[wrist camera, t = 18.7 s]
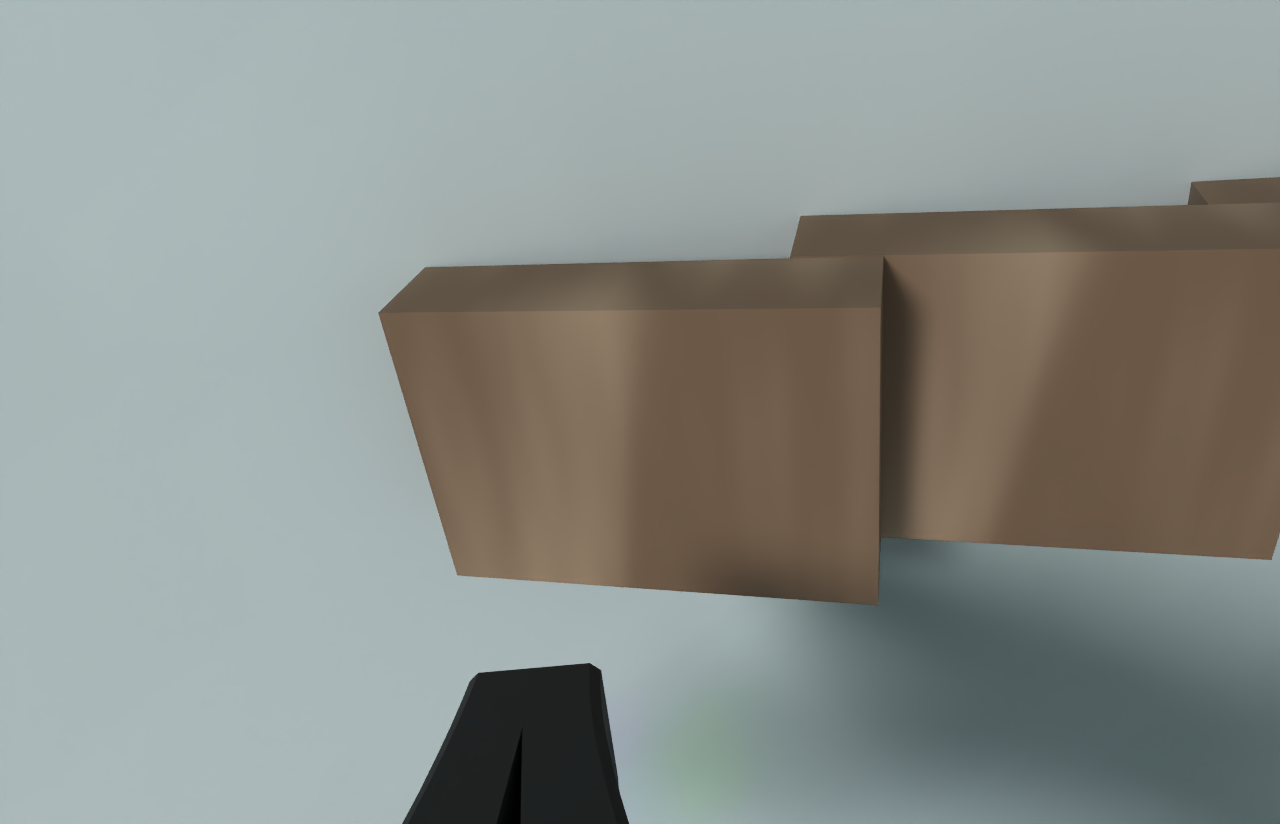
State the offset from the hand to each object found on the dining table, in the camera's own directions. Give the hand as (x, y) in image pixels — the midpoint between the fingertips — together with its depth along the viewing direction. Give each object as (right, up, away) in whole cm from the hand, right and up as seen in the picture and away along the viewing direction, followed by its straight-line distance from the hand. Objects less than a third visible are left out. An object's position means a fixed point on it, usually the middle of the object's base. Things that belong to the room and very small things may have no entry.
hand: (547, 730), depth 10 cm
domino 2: (+4, +4, +5) cm, 7 cm away
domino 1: (-2, +3, +5) cm, 6 cm away
